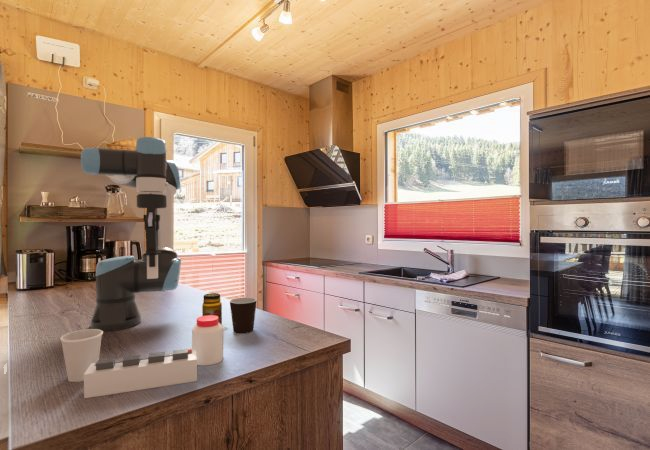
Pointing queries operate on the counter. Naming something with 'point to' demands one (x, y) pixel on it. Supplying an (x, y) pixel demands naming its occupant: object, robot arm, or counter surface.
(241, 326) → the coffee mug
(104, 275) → the robot arm
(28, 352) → the counter surface
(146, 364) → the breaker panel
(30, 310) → the counter surface
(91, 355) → the dixie cup
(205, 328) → the pill bottle
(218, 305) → the condiment
